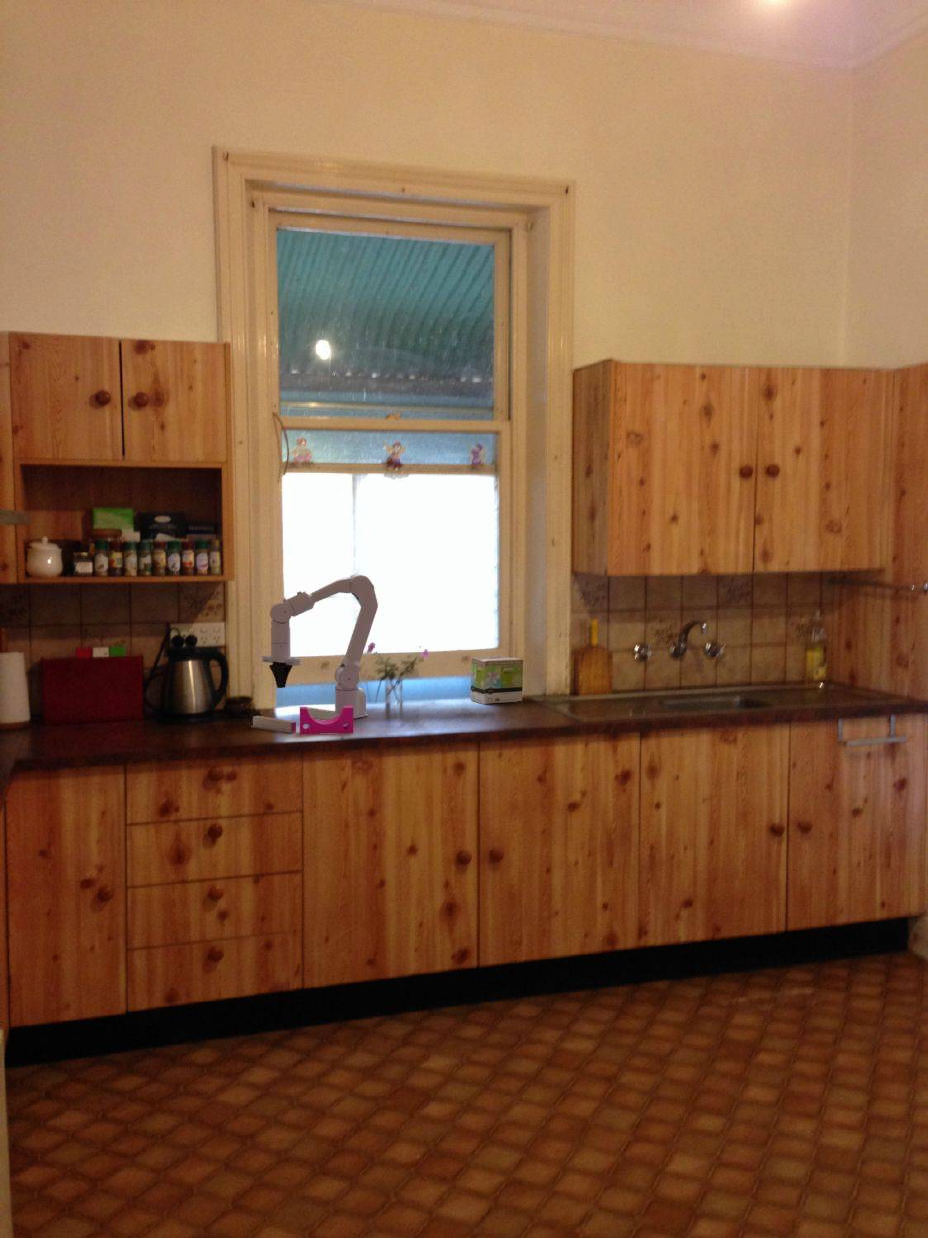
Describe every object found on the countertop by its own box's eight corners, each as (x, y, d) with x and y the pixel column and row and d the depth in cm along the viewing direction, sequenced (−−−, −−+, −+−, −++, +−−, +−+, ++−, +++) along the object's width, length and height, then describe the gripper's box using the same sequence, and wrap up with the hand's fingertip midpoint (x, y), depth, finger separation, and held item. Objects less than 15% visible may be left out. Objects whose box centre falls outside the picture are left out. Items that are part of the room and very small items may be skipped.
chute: (309, 716, 335) (309, 706, 335) (347, 722, 325) (347, 712, 325) (250, 727, 317) (250, 717, 316) (288, 733, 307) (288, 723, 307)
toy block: (351, 729, 315) (351, 704, 314) (353, 733, 308) (353, 707, 308) (299, 731, 312) (299, 705, 311) (300, 735, 306) (299, 708, 305)
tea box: (484, 705, 359) (485, 660, 358) (470, 700, 368) (470, 657, 367) (523, 701, 366) (523, 658, 365) (507, 697, 375) (508, 655, 374)
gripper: (254, 642, 328) (254, 686, 329) (287, 645, 319) (287, 691, 320) (271, 640, 334) (272, 684, 335) (305, 643, 325) (305, 688, 326)
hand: (281, 687), depth 328 cm, fingers closed
